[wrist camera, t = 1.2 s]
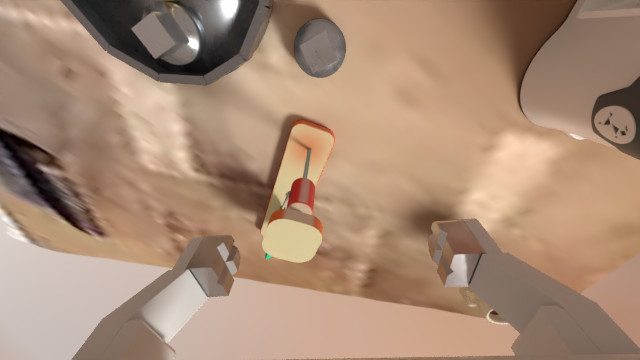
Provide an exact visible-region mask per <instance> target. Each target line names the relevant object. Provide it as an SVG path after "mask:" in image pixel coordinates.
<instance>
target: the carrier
mask: <svg viewBox="0 0 640 360" xmlns="http://www.w3.org/2000/svg"><path fill="white" fill-rule="evenodd" d="M61 1H62V3H63V4H64V5H65V6H66V7H67V8H68V9H69V10H70V12H71V13H72V14H73V15H74V16H75V17H76V18H77V20H78V21H79V22H80V23H81V24H82V25H83V26H84V27H85V29H86V30H87V31H88V32H89V33H90V34H91V35H92V37H93V38H94V39H95V40H96V41H97V42H98V43H99V44H100V46H101V47H102V48H103V49H104V50H105V51H107V50H108V52H107V53H109V54H111V55H112V56H114V57H116V58H118V59H119V60H121V61H123V62H125V63H126V64H128V65H130V66H132V67H133V68H135V69H137V70H139V71H140V72H142V73H144V74H146V75H147V76H149V77H151V78H153V79H154V80H156V81H160V82H165V83H181V84H196V85H209V84H211V83H212V82H214V81H216V80H218V79H219V78H221V77H222V76H224V75H226V74H228V73H230V72H232V71H234V70H236V69H237V68H239V67H240V66H241V65H243V64H244V63H245V62H247V61H248V60H250V58H252V56H253V53H254V52H255V50H256V49H257V47H258V46H259V44H260V42H261V40H262V38H263V36H264V34H265V31H266V29H267V26H268V23H269V19H270V15H271V12H272V7H273V0H61Z"/></svg>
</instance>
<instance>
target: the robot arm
mask: <svg viewBox="0 0 640 360" xmlns="http://www.w3.org/2000/svg"><path fill="white" fill-rule="evenodd" d="M520 102H521V107H522V110H523V112H524V114H525V116H526V117H527V118H528V119H529V120H530V121H531V122H533V123H534V124H536V125H539V126H542V127H546V128H552V129H556V130H560V131H562V132H564V133H565V134H566V135H568V136H570V137H572V138H575V139H580V140H581V139H585V138H586V139H589V140H592V141H595V142H598V143H601V144H604V145H607V146H610V147H613V148H616V149H618V150H620V151H621V152H623V153H625V154H628V155H630V156H632V157H634V158H637V159H639V160H640V0H578V1H577V2H576V4H575V6H574V7H573V9H572V11H571V13H570V14H569V16H568V18H567V20H566V21H565V22H564V24H563V25H562V26H561V27H560V28H559V29H558V30H557V31H556V32H555V33H554V34H553V35H552V36H551V37H550V39H549V40H548V41H547V42H546V43H545V44H544V45H543V46H542V48H541V49H540V50H539V52H538V53H537V54H536V56H535V57H534V59H533V60H532V62H531V64H530V66H529V67H528V69H527V72H526V74H525V76H524V79H523V82H522V86H521V92H520ZM431 230H432V232H433V234H432V235H431V236H430V237H429V241H428V246H429V252H430V255H431V258H432V260H433V261H434V262H435V263H436V264H438V265H439V266H438V270H437V271H438V274H439V276H440V278H441V280H442V282H443V285H444V287H462V286H469V288H470V289H471V290H472V291H473V292H474V293H475V294H476V295H478V296H479V297H480V298H481V299H482V300H483V301H484V302H485V303H487V304H488V305H489V306H490V307H491V308H492V309H493V310H494V311H496V312H497V313H498V314H499V315H500V316H501V317H502V318H503V319H505V320H506V321H507V322H508V323H509V324H510V325H511V326H512V327H514V328H515V329H516V330H517V331H518V332H519V333H520V335H519V336H518V338H517V339H516V340H515V342H514V343H513V345H512V347H511V348H512V350H513V352H514V354H515V356H475V357H474V356H468V357H411V358H410V357H408V358H351V359H349V358H348V359H293V360H640V348H639V347H638V346H637V345H636V344H635V343H634V342H633V341H632V340H631V339H630V338H629V337H628V336H627V335H626V333H625V332H624V331H623V330H622V329H621V328H620V327H619V326H618V325H617V324H616V323H615V322H614V321H613V320H612V319H611V318H610V317H609V316H608V315H607V314H606V312H605V311H604V310H603V309H602V308H601V307H600V306H599V305H598V304H597V303H595V302H594V301H592V300H590V299H588V298H586V297H585V296H583V295H581V294H580V293H578V292H576V291H574V290H572V289H571V288H569V287H567V286H565V285H564V284H562V283H560V282H558V281H557V280H555V279H553V278H551V277H550V276H548V275H546V274H544V273H543V272H541V271H539V270H537V269H535V268H534V267H532V266H530V265H528V264H527V263H525V262H523V261H521V260H520V259H518V258H516V257H514V256H513V255H511V254H509V253H503V252H502V251H501V249H500V248H499V247H498V246H497V244H496V243H495V242H494V240H493V239H492V238H491V237H490V235H489V234H488V233H487V231H486V230H485V229H484V227H483V226H482V225H481V224H480V222H479V221H478V220H476V219H463V220H449V221H436V222H433V223H432V226H431ZM233 243H234V239H233V237H232V236H231V235H216V236H196V237H194V238H192V239H191V241H190V242H189V244H188V245H187V247H186V248H185V250H184V252H183V253H182V255H181V256H180V258H179V260H178V261H177V263H176V264H175V266H174V267H173V269H172V270H168V271H167V272H165V273H164V274H163V275H161V276H160V277H159V278H157V279H156V280H155V281H153V282H152V283H151V284H149V285H148V286H146V287H145V288H144V289H142V290H141V291H140V292H139V293H137V294H136V295H134V296H133V297H132V298H130V299H129V300H128V301H126V302H125V303H124V304H122V305H121V306H120V307H118V308H117V309H116V310H114V311H113V312H112V313H110V314H109V315H107V316H106V317H105V318H103V319H102V321H101V322H100V323H99V324H98V326H97V327H96V328H95V329H94V331H93V332H92V333H91V335H90V336H89V337H88V339H87V340H86V341H85V343H84V344H83V345H82V347H81V348H80V349H79V351H78V352H77V353H76V354H75V356H74V357H73V358H72V360H174V359H175V356H176V352H175V350H174V349H173V348H172V347H171V346H169V345H168V344H167V343H168V342H169V341H170V340H171V339H172V338H173V337H174V335H176V333H177V332H178V331H179V330H180V329H181V328H182V327H183V326H184V325H185V323H186V322H187V321H188V320H189V319H190V318H191V317H192V316H193V315H194V313H195V312H196V311H197V310H198V309H199V308H200V307H201V306H202V305H203V304H204V302H205V301H206V300H207V299H208V297H217V296H228V295H229V293H230V290H231V287H232V284H233V282H234V279H233V276H232V275H233V274H234V273H236V272H237V271H238V268H239V265H240V253H239V250H238V248H237V247H235V246H234V245H233ZM288 360H289V359H288ZM291 360H292V359H291Z"/></svg>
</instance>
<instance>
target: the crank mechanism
mask: <svg viewBox="0 0 640 360" xmlns="http://www.w3.org/2000/svg"><path fill="white" fill-rule="evenodd" d="M334 142H335V137H334V134H333V132H332V131H331V130H330V129H328V128H325V127H322V126H320V125H317V124H314V123H311V122H308V121H305V120H298V121H296V122H295V123H294V124H293V126H292V128H291V131H290V134H289V138H288V141H287V144H286V148H285V151H284V154H283V157H282V161H281V164H280V167H279V171H278V174H277V177H276V181H275V184H274V187H273V191H272V194H271V197H270V201H269V204H268V207H267V211H266V214H265V217H264V221H263V224H262V227H261V234H262V235H263V236H264V238H263V242H262V247H263V250H264V251H265V252H266V256H265V258H266V259H270V258H271V256H273V257H276V258H280V259H284V260H288V261H292V262H306V261H308V260H310V259H312V257H313V256H314V255H315V253H316V251H317V249H318V247H319V245H320V243H321V241H322V230H323V227H322V223H321V222H320V220H319V219H318V218H316V217H315V216H312V214H313V206H314V195H315V188H316V185H317V183H318V181H319V178H320V176H321V174H322V171H323V169H324V167H325V164H326V162H327V160H328V157H329V155H330V153H331V150H332V148H333V146H334Z"/></svg>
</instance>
